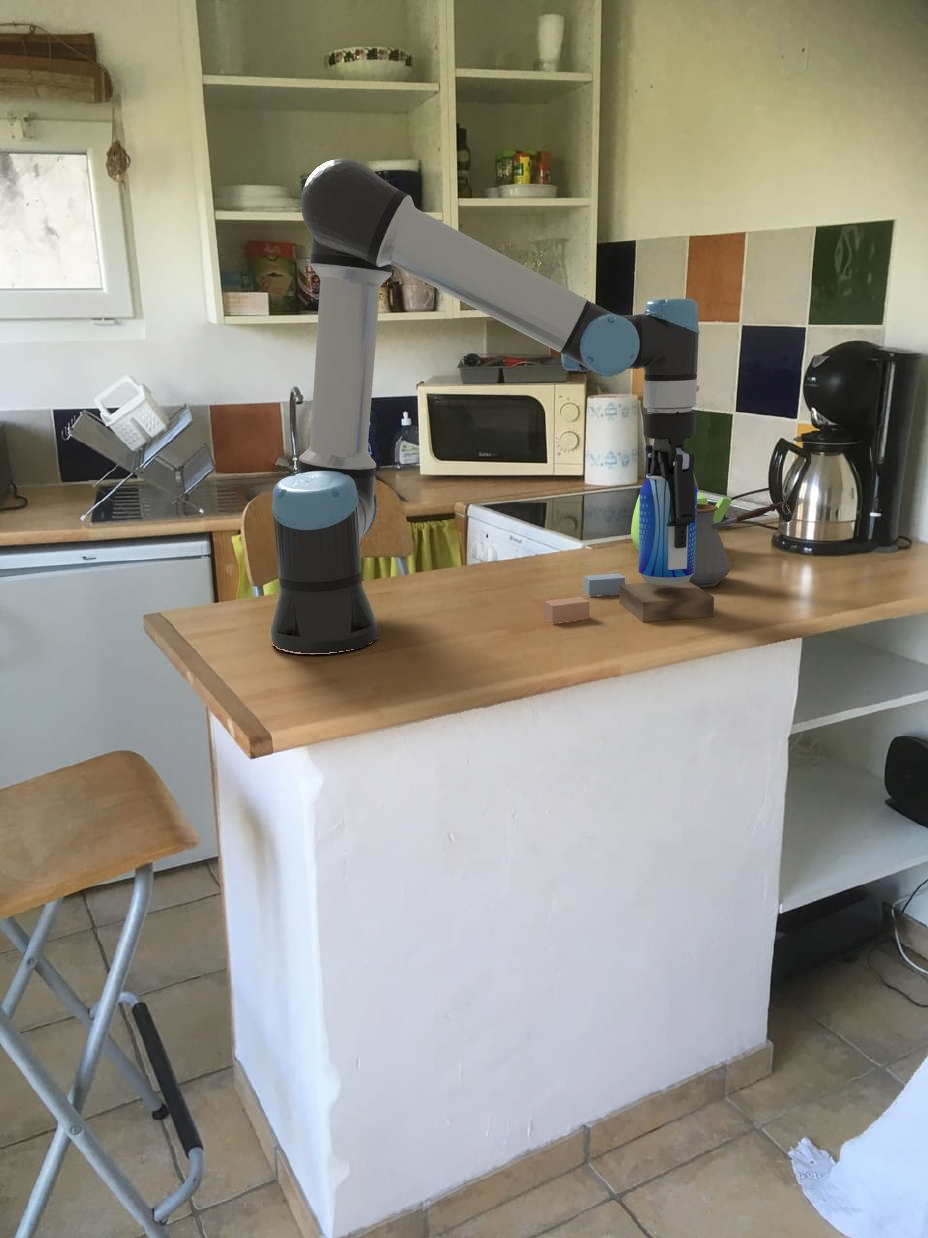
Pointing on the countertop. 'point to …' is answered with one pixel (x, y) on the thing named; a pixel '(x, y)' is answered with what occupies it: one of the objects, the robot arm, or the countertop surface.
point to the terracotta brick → (566, 609)
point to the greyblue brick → (603, 584)
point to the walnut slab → (666, 601)
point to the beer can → (661, 535)
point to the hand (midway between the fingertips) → (666, 561)
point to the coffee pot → (716, 544)
